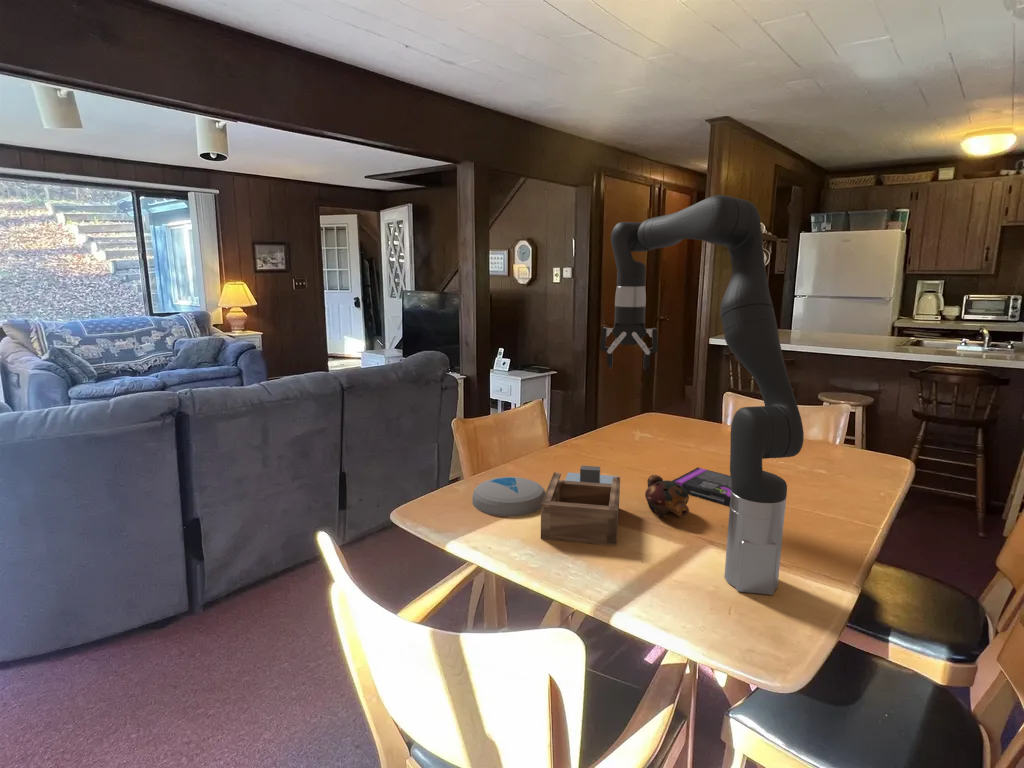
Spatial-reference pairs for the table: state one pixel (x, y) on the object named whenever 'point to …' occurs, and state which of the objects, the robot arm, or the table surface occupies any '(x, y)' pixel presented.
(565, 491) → the walnut box
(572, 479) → the lid
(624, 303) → the robot arm
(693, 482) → the box
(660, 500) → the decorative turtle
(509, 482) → the grey thick disc
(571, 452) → the table surface
